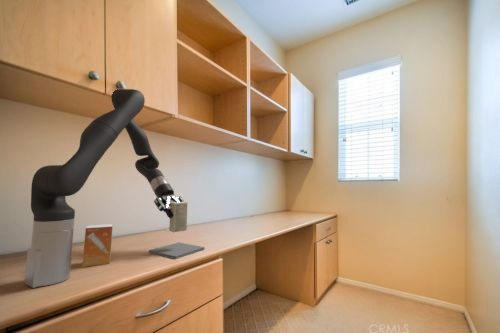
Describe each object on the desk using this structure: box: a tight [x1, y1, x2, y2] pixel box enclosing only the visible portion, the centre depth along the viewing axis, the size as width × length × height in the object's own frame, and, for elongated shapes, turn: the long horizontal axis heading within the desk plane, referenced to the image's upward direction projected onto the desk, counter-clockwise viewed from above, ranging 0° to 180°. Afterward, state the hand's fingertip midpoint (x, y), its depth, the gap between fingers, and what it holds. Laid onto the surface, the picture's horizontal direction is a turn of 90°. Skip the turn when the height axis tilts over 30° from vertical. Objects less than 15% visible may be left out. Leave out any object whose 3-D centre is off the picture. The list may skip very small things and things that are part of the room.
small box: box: [82, 223, 113, 268], centre depth 82 cm, size 8×6×13 cm
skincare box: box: [168, 201, 188, 233], centre depth 99 cm, size 6×4×12 cm
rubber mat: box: [148, 242, 205, 260], centre depth 98 cm, size 16×16×1 cm
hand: (178, 216), depth 99 cm, fingers closed on skincare box, 7 cm apart
